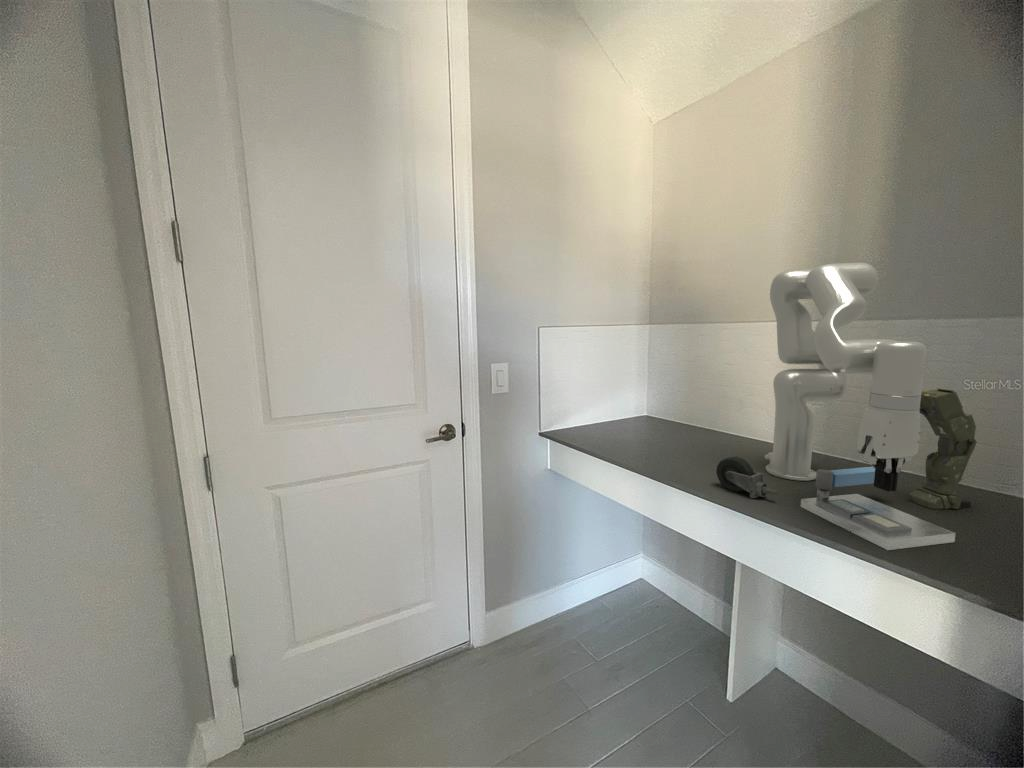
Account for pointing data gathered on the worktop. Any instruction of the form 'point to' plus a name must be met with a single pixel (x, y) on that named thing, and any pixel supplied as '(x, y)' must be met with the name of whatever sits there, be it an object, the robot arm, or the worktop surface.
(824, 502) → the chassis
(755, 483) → the caster wheel
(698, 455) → the worktop surface
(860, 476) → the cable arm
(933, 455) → the mechanical leg
